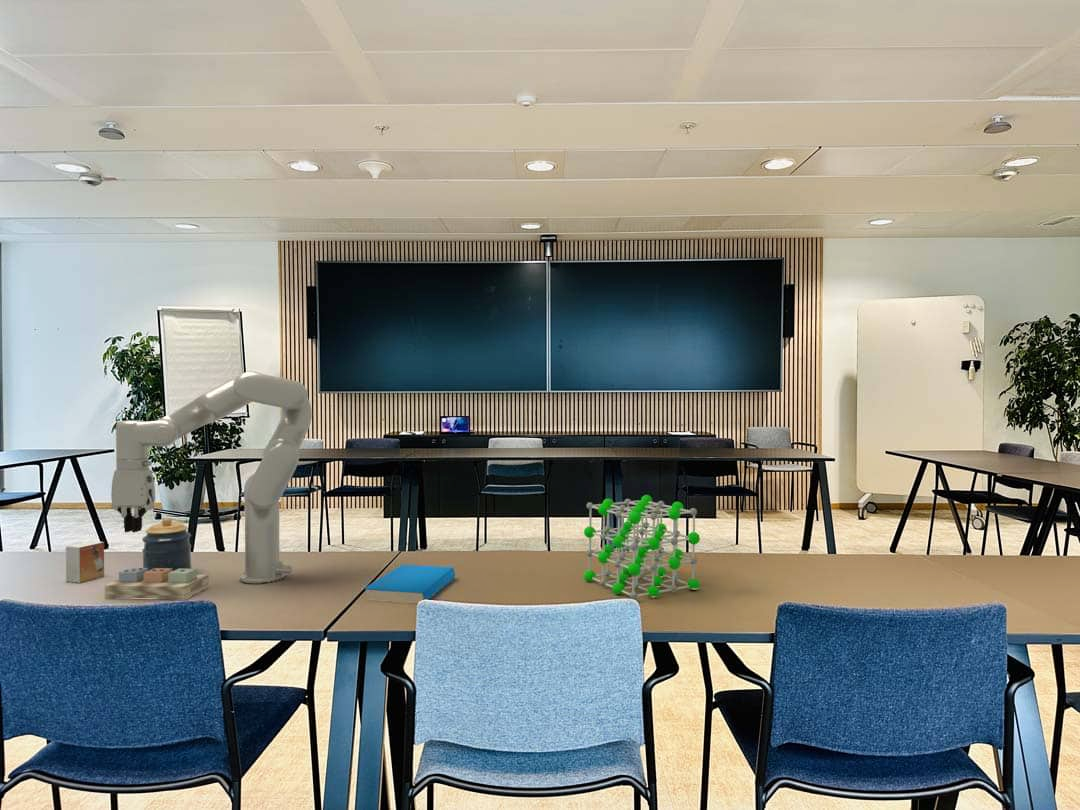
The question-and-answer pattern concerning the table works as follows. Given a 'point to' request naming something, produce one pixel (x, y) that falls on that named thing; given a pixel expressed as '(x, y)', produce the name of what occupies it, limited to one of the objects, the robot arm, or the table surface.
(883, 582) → the table surface
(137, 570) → the building block
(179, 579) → the tile
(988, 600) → the table surface
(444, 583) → the book
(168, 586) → the wooden tile tray
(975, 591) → the table surface
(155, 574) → the orange square block
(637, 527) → the molecular structure model
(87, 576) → the small box
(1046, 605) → the table surface
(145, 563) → the canister
